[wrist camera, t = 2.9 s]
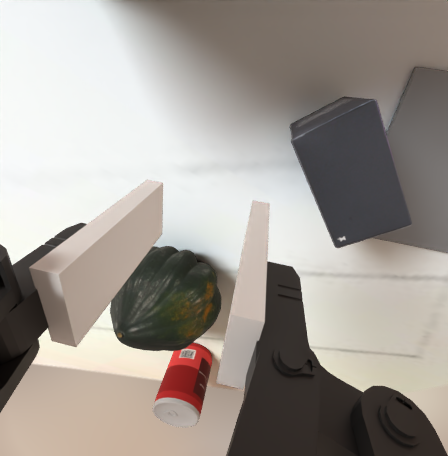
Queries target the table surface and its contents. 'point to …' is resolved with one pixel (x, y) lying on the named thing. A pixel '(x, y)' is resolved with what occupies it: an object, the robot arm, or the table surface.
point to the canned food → (184, 387)
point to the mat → (422, 159)
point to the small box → (351, 170)
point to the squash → (166, 301)
